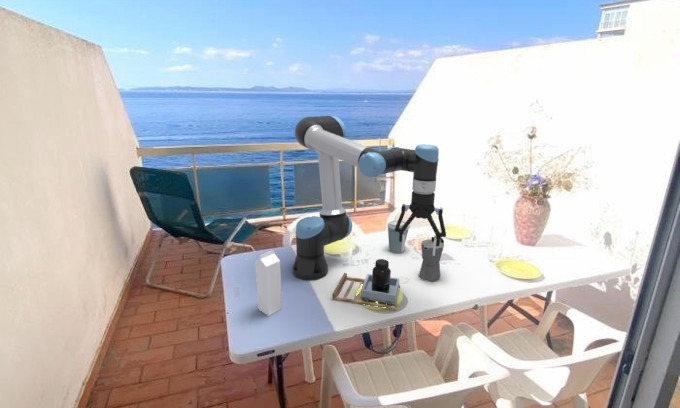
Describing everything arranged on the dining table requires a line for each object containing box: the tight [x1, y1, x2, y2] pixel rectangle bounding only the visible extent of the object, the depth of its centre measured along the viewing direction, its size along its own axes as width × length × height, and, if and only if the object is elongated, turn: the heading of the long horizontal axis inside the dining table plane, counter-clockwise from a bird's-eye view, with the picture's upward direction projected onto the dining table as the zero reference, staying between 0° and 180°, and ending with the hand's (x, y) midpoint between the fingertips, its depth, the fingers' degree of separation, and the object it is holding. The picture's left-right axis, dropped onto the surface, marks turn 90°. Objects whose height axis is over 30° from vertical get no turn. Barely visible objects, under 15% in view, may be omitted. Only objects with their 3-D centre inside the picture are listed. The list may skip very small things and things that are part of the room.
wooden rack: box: [331, 272, 401, 312], centre depth 132 cm, size 23×17×2 cm
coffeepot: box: [418, 236, 445, 283], centre depth 144 cm, size 15×9×18 cm, turn 136°
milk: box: [254, 249, 283, 317], centre depth 118 cm, size 6×6×22 cm
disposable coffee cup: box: [386, 219, 410, 254], centre depth 168 cm, size 11×11×15 cm
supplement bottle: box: [371, 258, 392, 293], centre depth 129 cm, size 7×7×12 cm
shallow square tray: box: [360, 273, 400, 306], centre depth 131 cm, size 13×14×4 cm
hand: (418, 252), depth 122 cm, fingers open, 10 cm apart
